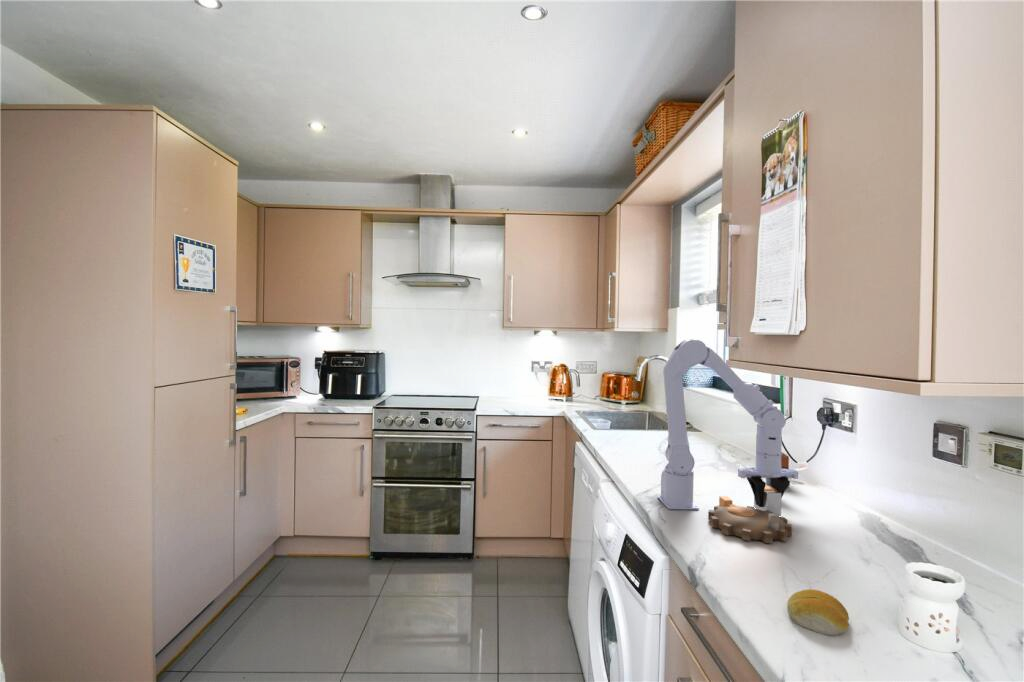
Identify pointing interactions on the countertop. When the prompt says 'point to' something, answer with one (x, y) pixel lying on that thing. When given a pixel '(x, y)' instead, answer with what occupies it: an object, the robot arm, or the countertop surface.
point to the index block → (724, 501)
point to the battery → (784, 461)
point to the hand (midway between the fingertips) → (767, 505)
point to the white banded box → (770, 500)
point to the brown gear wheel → (750, 523)
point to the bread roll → (818, 612)
